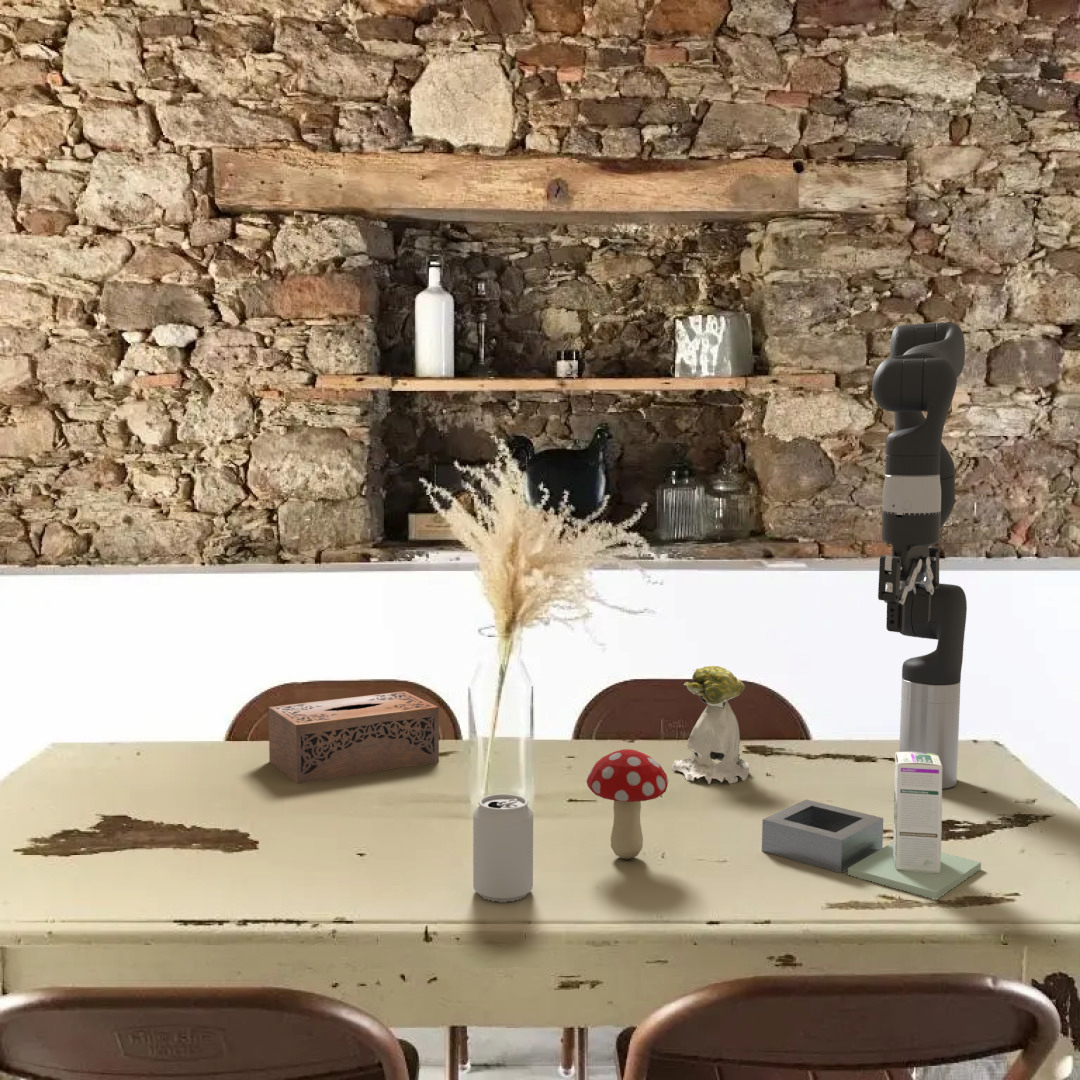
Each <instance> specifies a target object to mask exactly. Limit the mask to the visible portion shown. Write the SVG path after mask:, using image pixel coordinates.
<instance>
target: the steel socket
mask: <svg viewBox="0 0 1080 1080" xmlns="http://www.w3.org/2000/svg"><path fill="white" fill-rule="evenodd" d="M761 827H762V828H761V831H762V832H761V852H764V853H768V854H771V855H774V856H775V855H776V856H779V857H782V858H785V859H789V860H792V861H796V862H800V863H803V864H807V865H811V866H814V867H817V866H818V867H817V868H820V867H822V869H824V868H827V869H829V870H828V871H831V870H833V871H832V872H835V871H836V872H835V873H838V872H840V873H839V874H843V873H844V872H845V870H846V871H848V868H849V867H850V866H852V865H854V864H856V863H857V862H859V861H861V860H863V859H864V858H866V857H868V856H870V855H871V854H873V853H875V852H877V851H878V850H880V849H882V848H883V843H884V817H880V816H876V815H872V814H869V813H864V812H860V811H856V810H851V809H848V808H843V807H839V806H835V805H831V804H826V803H822V802H818V801H814V800H810V799H804V800H802V801H800V802H797V803H795V804H793V805H791V806H789V807H787V808H784V809H782V810H780V811H778V812H775V813H773V814H771V815H769V816H767V817H764V818H762V824H761ZM827 869H826V870H827ZM843 871H844V872H843Z"/></svg>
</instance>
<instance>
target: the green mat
mask: <svg viewBox="0 0 1080 1080" xmlns="http://www.w3.org/2000/svg"><path fill="white" fill-rule="evenodd" d="M980 869H982V862H981V861H978V860H974V859H971V858H966V857H962V856H959V855H955V854H950V853H948V852H947V853H946V852H942V851H941V864H940V873H924V872H912V871H904V870H898V869H896V867H895V861H894V857H893V841H892V842H891V843H889V844H887V845H885V846H883V847H882V849H880V850H878V851H877V852H875V853H873V854H871V855H870V856H868V857H866V858H864V859H863V860H861V861H859V862H857V863H856V864H854V865H852V866H850V867H849V868H848V869H847V876H849V875H851V876H850V877H852V876H854V877H853V878H856V877H858V878H857V879H859V878H861V879H860V880H863V879H865V880H864V881H866V880H869V881H868V882H870V881H872V882H871V883H874V882H875V883H874V884H877V883H879V884H878V885H881V884H882V886H884V885H886V886H885V887H888V886H890V887H889V888H891V887H892V888H891V889H895V888H896V890H898V889H900V890H899V891H902V890H904V891H903V892H905V891H907V892H906V893H909V892H910V894H913V893H914V894H913V895H916V894H918V895H917V896H920V895H922V896H921V897H923V896H926V897H925V898H927V897H930V898H934V899H937V898H939V897H940V898H942V897H943V896H944V895H943V894H945V893H946V892H948V891H949V890H950V891H952V890H953V889H955V888H956V887H958V886H959V885H960V883H961V882H962V883H963V882H965V881H967V878H968V877H969V878H971V877H972V876H973V875H975V874H976V873H978V872H979V871H981V870H980ZM977 871H978V872H977ZM974 873H975V874H974ZM970 876H971V877H970ZM969 878H968V879H969ZM964 880H965V881H964ZM962 883H961V884H962ZM958 884H959V885H958ZM957 885H958V886H957ZM954 887H955V888H954ZM951 889H952V890H951ZM950 891H949V892H950ZM949 892H948V893H949ZM946 894H947V893H946ZM946 894H945V895H946ZM942 895H943V896H942ZM941 896H942V897H941ZM930 898H929V899H930ZM940 898H939V899H940ZM934 899H933V900H934Z"/></svg>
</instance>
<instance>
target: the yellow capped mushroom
mask: <svg viewBox="0 0 1080 1080" xmlns="http://www.w3.org/2000/svg"><path fill="white" fill-rule="evenodd" d="M692 671H694V672H693V674H692V678H691V681H692V682H688V681H686V682H684V684H683V686H685V687H686V688H687V690H688V691H689V692H690V693H692V694H693V695H695V696H697V697H700V700H701V702H703V703H704V704H707V705H706V707H705V709H703V711H702V713H701V714H700V716H699V717H698V720H697V721H696V723H695V725H694V727H693V728H692V730H691V733H690V735H689V738H688V739H687V745H686V746H687V748H686V749H687V750H688V751H689V750H690V751H691V752H692V754H691V756H690V757H685V758H682V759H681V760H679V759H675V760H674V761H673V764H672V767H671V771H678V772H682V773H683V775H684V778H686V779H687V780H686V779H685V780H686V781H692V782H694V781H695V778H696V779H700V778H701V777H704V779H705V780H706V781H707V783H708V785H710V784H711V783H712V779H713V780H714V779H716V780H717V781H720V783H723V782H724V780H726V781H727V782H728V784H730V783H733V784H736V783H737V782H738V781H739V779H738V776H739V778H741V781H746V780H747V777H748V776H749V771H750V770H749V769H750V763H749V762H746V761H745V759H743V758H740V756H741V754H740V744H741V740H740V726H739V722H738V719H737V717H736V715H735V713H734V711H733V709H732V708H731V705H730V703H729V700H732V699H735V698H736V697H739V696H740V695H741V694H742V692H743V691H744V690H745V689H746V685H745V684H744V683H743V682H742V681H741V680H740V679H738V678H737V676H736V675H734V674H733V672H732V671H730V670H729V669H727V668H725V667H723V666H720V665H719V666H717V665H709V666H703V667H700V668H696V669H693V670H692ZM716 760H717V761H720V762H718V763H716V762H715V761H716ZM735 782H736V783H735ZM730 785H731V784H730Z"/></svg>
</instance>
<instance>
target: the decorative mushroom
mask: <svg viewBox="0 0 1080 1080" xmlns="http://www.w3.org/2000/svg"><path fill="white" fill-rule="evenodd" d="M586 784H587V788H589V790H591V792H592V793H593V794H594V795H595V796H597V797H600V798H602V799H605V800H611V801H613V806H612V807H613V824H612V829H611V834H610V848H611V850H612V851H613V853H614V854H615V856H617V857H619V858H621V859H622V860H631V859H633V858H635V857H638V856H639V854H640V853H641V852H642V850H643V846H644V845H643V844H644V840H643V839H644V837H643V836H644V835H643V831H642V825H641V809H642V804H641V803H642V802H646V801H652V800H654V799H657V798H659V797H660V796H662V795H664V794H665V793H666V791H667V789H668V785H669V778H668V776H667V774H666V772H665V770H664V769H663V767H662V766H661V764H659V762H657V761H656V760H655V759H654V758H652V757H651V756H650V755H647V754H646V753H644V752H642V751H638V750H635V749H631V748H629V749H627V748H626V749H625V748H623V749H620V750H615V751H613V752H611V753H608V754H606V755H605V756H602V757H601V758H600V759H599V760H597V761H596V762H595V764H594V765H593V767H592V768H591V769H590V771H589V774H588V775H587V779H586Z"/></svg>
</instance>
